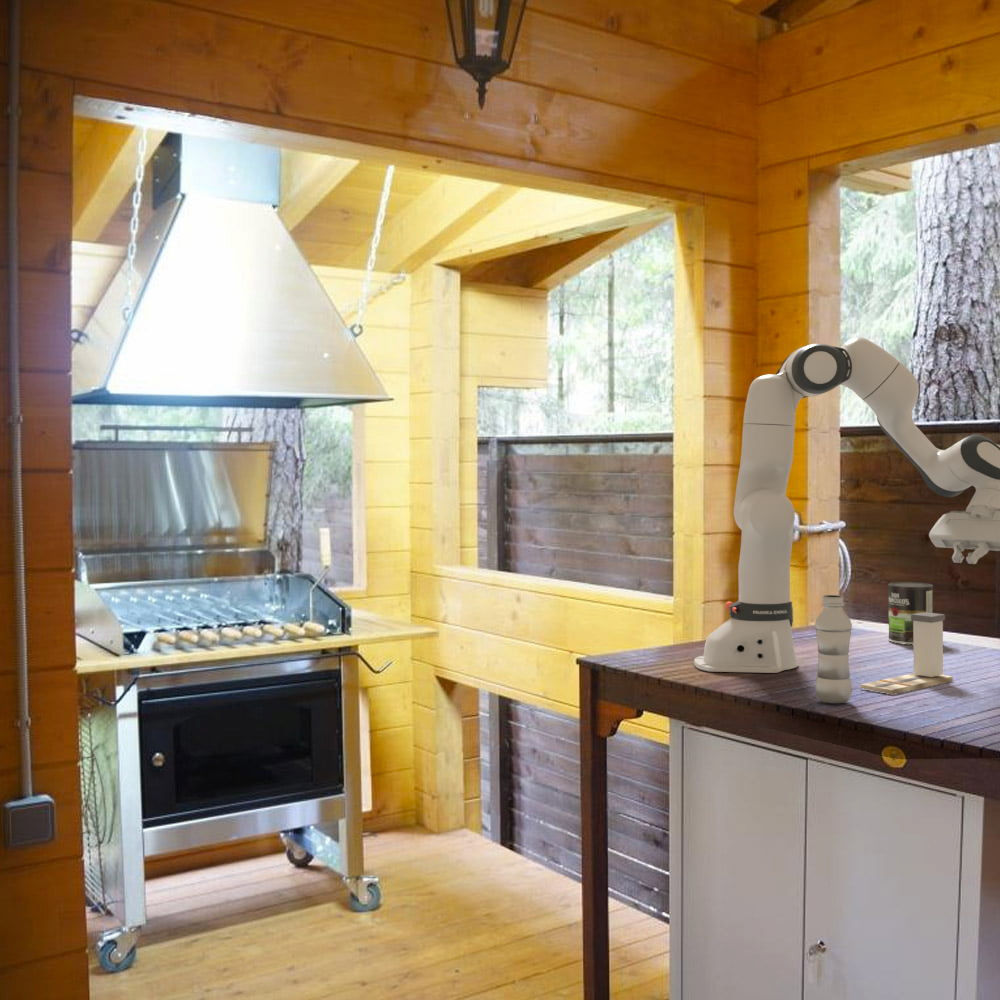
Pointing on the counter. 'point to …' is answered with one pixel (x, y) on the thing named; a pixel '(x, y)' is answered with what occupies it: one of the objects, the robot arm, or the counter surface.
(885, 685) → the board
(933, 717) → the counter surface
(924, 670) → the slider handle
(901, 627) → the coffee can
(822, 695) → the plastic bottle
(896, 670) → the counter surface
